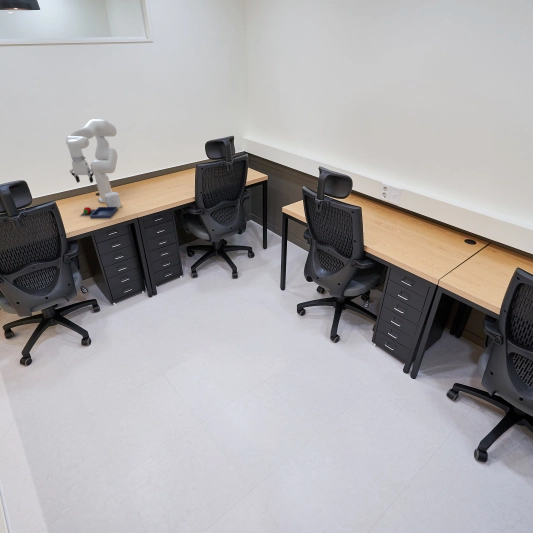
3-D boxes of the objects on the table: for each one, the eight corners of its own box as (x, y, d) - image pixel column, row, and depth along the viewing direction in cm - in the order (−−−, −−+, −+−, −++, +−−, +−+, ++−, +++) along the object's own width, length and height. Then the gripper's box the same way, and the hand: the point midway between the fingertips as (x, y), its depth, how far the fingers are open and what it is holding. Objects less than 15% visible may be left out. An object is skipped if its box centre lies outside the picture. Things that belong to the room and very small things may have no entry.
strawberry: (87, 210, 267) (86, 205, 264) (93, 210, 267) (91, 205, 264) (83, 214, 260) (81, 209, 258) (88, 214, 260) (87, 209, 258)
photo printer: (120, 205, 276) (117, 190, 269) (122, 207, 273) (118, 192, 266) (107, 208, 271) (103, 193, 264) (108, 210, 268) (104, 194, 261)
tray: (99, 210, 268) (98, 206, 267) (118, 210, 268) (117, 207, 267) (90, 218, 256) (89, 215, 254) (110, 218, 255) (109, 215, 254)
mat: (87, 210, 268) (87, 209, 268) (96, 210, 268) (96, 209, 268) (80, 216, 259) (80, 215, 259) (90, 216, 259) (89, 215, 259)
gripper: (92, 156, 246) (99, 180, 256) (68, 156, 247) (75, 180, 256) (87, 160, 240) (94, 184, 250) (62, 160, 240) (70, 184, 250)
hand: (85, 182), depth 253 cm, fingers open, 9 cm apart
